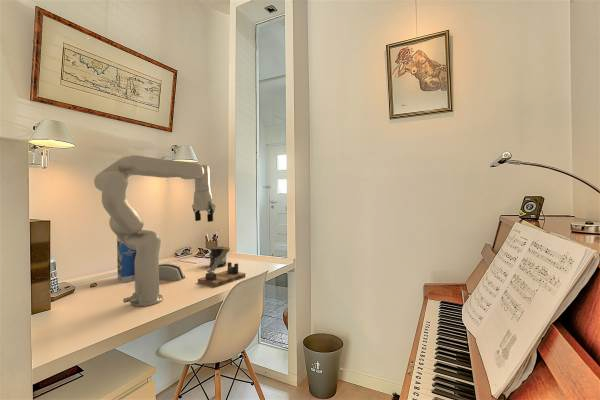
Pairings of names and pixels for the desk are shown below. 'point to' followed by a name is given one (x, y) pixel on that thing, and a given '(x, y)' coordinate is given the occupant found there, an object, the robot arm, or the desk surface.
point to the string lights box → (125, 262)
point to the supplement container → (215, 254)
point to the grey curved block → (170, 272)
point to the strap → (218, 260)
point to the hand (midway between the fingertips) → (204, 221)
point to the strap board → (222, 276)
